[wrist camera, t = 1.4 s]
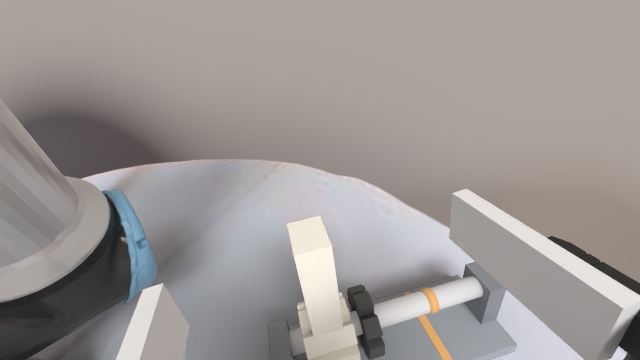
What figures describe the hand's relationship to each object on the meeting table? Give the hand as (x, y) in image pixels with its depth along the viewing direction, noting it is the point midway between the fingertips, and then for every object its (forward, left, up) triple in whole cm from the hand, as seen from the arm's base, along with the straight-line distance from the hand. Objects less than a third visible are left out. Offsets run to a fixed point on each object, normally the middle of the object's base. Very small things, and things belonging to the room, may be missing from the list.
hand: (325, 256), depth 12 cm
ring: (-1, +10, -23) cm, 25 cm away
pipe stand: (+1, +11, -26) cm, 28 cm away
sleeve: (-5, +7, -23) cm, 25 cm away
